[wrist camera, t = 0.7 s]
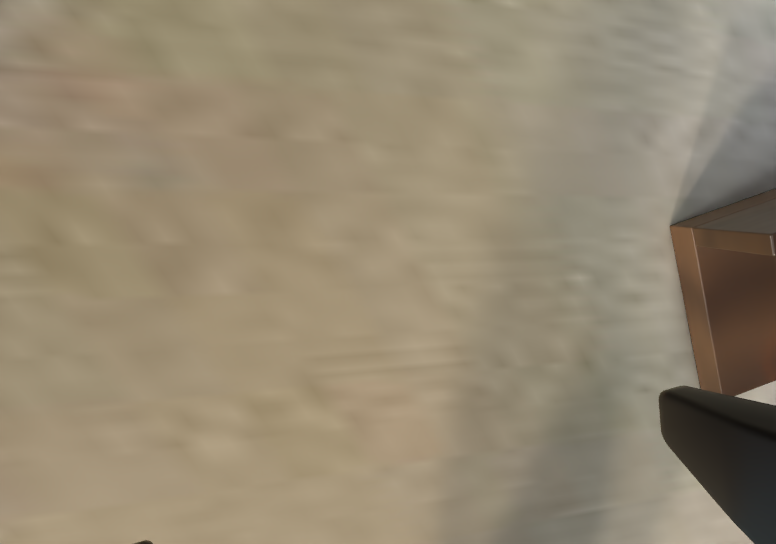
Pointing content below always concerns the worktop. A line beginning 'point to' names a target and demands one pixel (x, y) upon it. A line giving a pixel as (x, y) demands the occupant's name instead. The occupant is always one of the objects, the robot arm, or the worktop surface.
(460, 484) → the worktop surface
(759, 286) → the brown tray
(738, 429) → the robot arm
